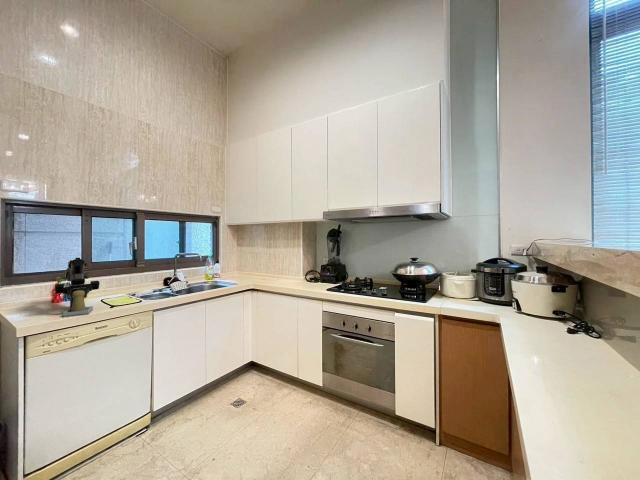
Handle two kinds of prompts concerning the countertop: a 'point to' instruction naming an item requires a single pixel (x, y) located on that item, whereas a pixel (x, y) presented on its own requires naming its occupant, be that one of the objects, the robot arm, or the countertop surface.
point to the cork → (78, 301)
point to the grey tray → (77, 312)
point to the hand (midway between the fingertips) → (78, 298)
